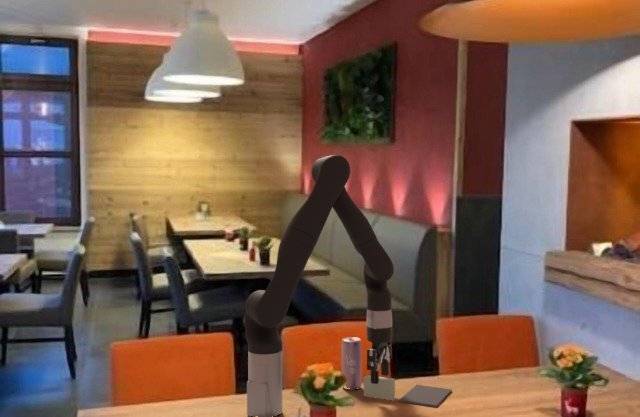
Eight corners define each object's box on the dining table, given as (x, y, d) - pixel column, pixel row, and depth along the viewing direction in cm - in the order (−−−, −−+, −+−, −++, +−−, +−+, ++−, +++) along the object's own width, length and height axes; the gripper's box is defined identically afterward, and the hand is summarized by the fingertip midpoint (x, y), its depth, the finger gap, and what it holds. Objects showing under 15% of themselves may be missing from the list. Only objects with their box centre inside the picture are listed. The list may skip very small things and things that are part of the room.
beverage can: (361, 385, 207) (361, 337, 206) (360, 391, 201) (360, 341, 200) (342, 384, 207) (342, 336, 207) (341, 390, 201) (341, 341, 201)
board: (392, 401, 192) (392, 380, 192) (363, 396, 196) (363, 376, 196) (394, 399, 194) (394, 378, 193) (366, 394, 198) (366, 374, 197)
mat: (436, 407, 186) (436, 405, 186) (399, 401, 191) (399, 399, 191) (451, 391, 200) (451, 389, 200) (416, 386, 205) (416, 384, 205)
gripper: (376, 318, 202) (376, 371, 203) (358, 328, 189) (358, 384, 190) (399, 320, 199) (400, 374, 200) (382, 330, 186) (383, 387, 187)
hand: (380, 379), depth 195 cm, fingers open, 8 cm apart
